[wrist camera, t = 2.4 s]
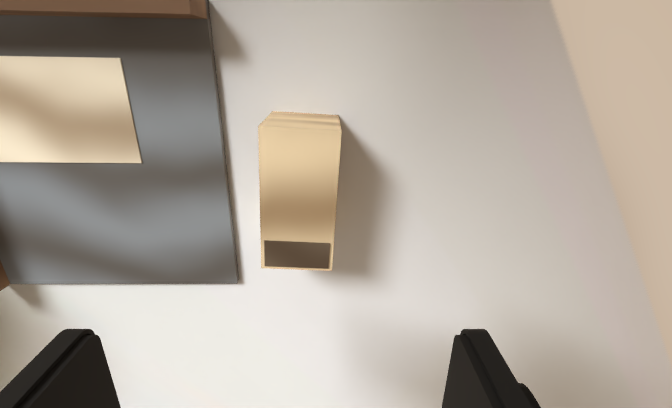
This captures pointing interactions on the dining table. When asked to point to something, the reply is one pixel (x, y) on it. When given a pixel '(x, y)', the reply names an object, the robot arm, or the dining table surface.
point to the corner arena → (111, 145)
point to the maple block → (298, 189)
